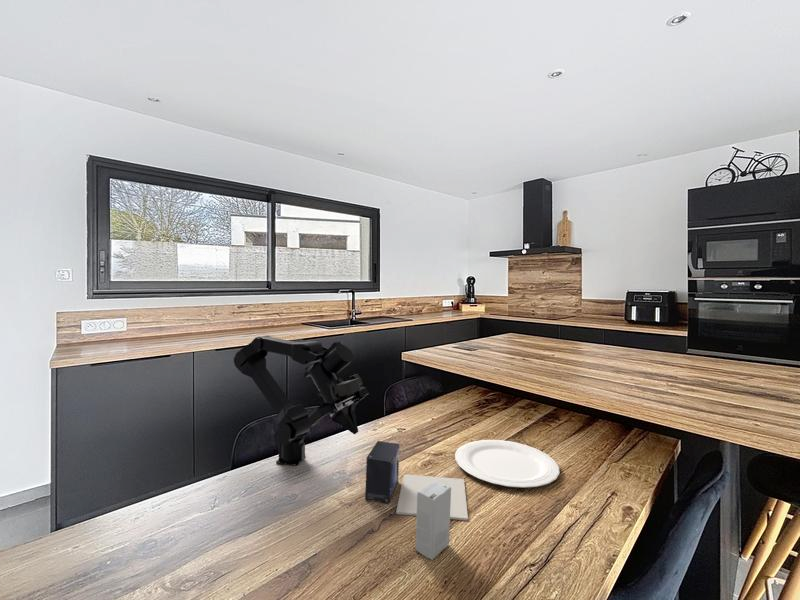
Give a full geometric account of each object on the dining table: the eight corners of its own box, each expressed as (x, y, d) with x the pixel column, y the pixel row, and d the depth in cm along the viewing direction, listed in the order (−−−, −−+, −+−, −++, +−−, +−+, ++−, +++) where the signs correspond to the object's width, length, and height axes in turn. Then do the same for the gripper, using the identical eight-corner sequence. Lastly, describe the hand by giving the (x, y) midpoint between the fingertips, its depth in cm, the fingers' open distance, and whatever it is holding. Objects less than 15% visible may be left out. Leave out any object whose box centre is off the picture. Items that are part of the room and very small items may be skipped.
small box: (390, 504, 89) (391, 461, 88) (364, 501, 90) (365, 457, 90) (399, 481, 99) (400, 442, 99) (375, 478, 101) (376, 440, 100)
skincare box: (432, 535, 78) (433, 478, 78) (450, 545, 75) (452, 486, 75) (413, 551, 74) (415, 490, 73) (432, 562, 71) (434, 499, 70)
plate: (574, 466, 111) (575, 460, 110) (532, 508, 89) (532, 500, 89) (486, 437, 130) (486, 432, 130) (434, 465, 109) (434, 459, 109)
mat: (396, 513, 85) (396, 511, 85) (403, 476, 102) (404, 474, 102) (467, 520, 83) (467, 518, 83) (463, 481, 100) (463, 479, 100)
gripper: (317, 376, 91) (350, 434, 87) (365, 358, 107) (395, 406, 103) (294, 398, 97) (324, 453, 92) (343, 378, 112) (371, 424, 108)
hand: (356, 433), depth 99 cm, fingers closed
